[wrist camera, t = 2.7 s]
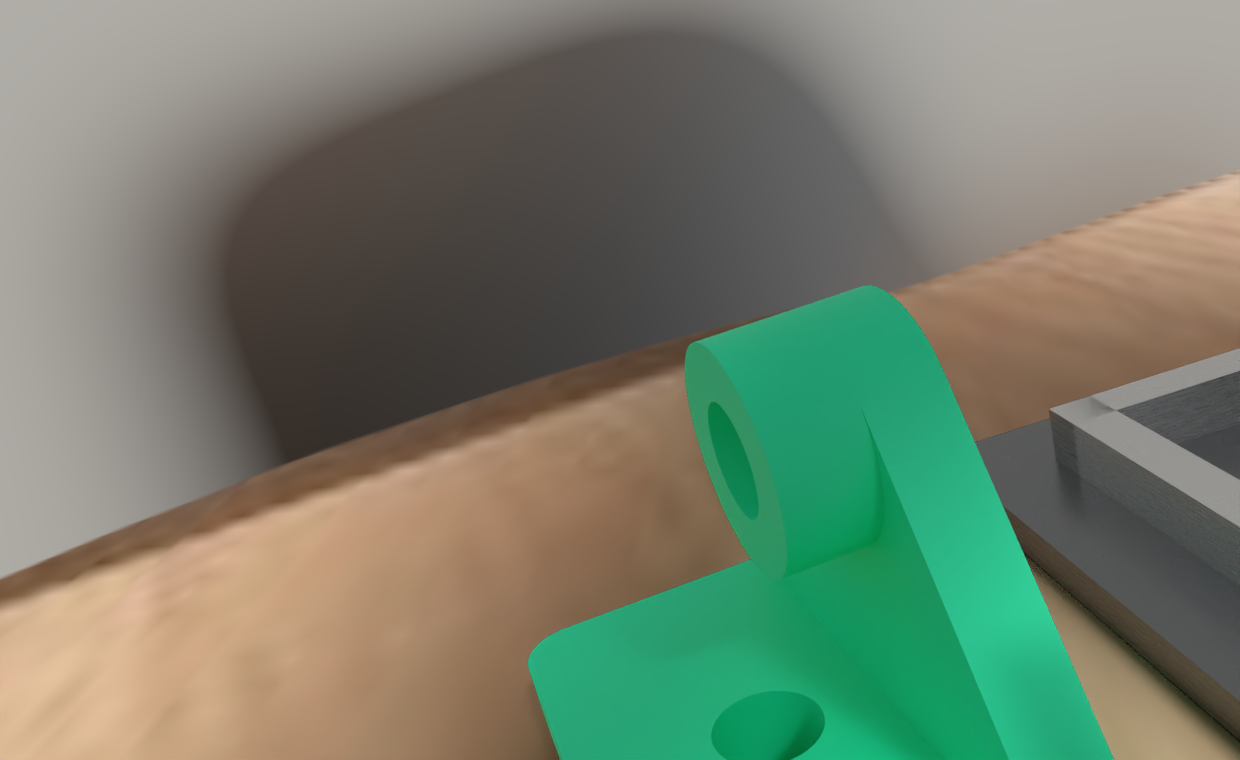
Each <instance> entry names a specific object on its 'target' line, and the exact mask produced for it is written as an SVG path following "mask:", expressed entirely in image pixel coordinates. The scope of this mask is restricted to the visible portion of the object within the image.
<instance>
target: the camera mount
mask: <svg viewBox="0 0 1240 760" xmlns="http://www.w3.org/2000/svg"><path fill="white" fill-rule="evenodd" d="M685 382H686V390H687V397H688V402H689V407H690V412H691V416H692V421H693V425H694V429H695V432H696V436H697V439H698V443H699V446H700V449H701V452H702V455H703V458H704V462H705V464H706V467H707V470H708V473H709V476H710V478H711V481H712V483H713V486H714V488H715V491H716V493H717V496H718V498H719V500H720V503H721V505H722V507H723V510H724V512H725V514H726V516H727V518H728V520H729V522H730V524H731V526H732V528H733V530H734V532H735V534H736V536H737V537H738V539H739V541H740V543H741V544H742V546H743V548H744V549H745V551H746V552H747V554H748V555H749V557H750V558H751V560H748V561H745V562H743V563H740V564H737V565H735V566H732V567H729V568H726V569H724V570H721V571H718V572H716V573H713V574H710V575H708V576H705V577H702V578H699V579H697V580H694V581H691V582H689V583H686V584H683V585H681V586H678V587H675V588H672V589H670V590H667V591H664V592H662V593H659V594H656V595H654V596H651V597H648V598H645V599H643V600H640V601H637V602H635V603H632V604H629V605H627V606H624V607H621V608H618V609H616V610H613V611H610V612H608V613H605V614H602V615H600V616H597V617H594V618H591V619H589V620H586V621H583V622H581V623H578V624H575V625H573V626H570V627H567V628H564V629H562V630H559V631H557V632H555V633H553V634H551V635H550V636H548V637H547V638H545V639H544V640H542V641H541V642H540V643H539V644H538V645H537V646H536V647H535V648H534V649H533V651H532V652H531V654H530V656H529V659H528V668H529V671H530V674H531V677H532V680H533V683H534V686H535V690H536V693H537V696H538V699H539V702H540V705H541V708H542V711H543V714H544V717H545V720H546V723H547V726H548V729H549V731H550V734H551V737H552V740H553V742H554V745H555V748H556V750H557V753H558V756H559V759H560V760H1114V758H1113V756H1112V754H1111V752H1110V749H1109V747H1108V745H1107V742H1106V740H1105V738H1104V736H1103V733H1102V731H1101V729H1100V726H1099V724H1098V722H1097V720H1096V717H1095V715H1094V713H1093V711H1092V708H1091V706H1090V704H1089V701H1088V699H1087V697H1086V695H1085V692H1084V690H1083V688H1082V685H1081V683H1080V681H1079V679H1078V676H1077V674H1076V672H1075V669H1074V667H1073V665H1072V663H1071V660H1070V658H1069V656H1068V654H1067V651H1066V649H1065V647H1064V644H1063V642H1062V640H1061V638H1060V635H1059V633H1058V631H1057V628H1056V626H1055V624H1054V622H1053V619H1052V617H1051V615H1050V612H1049V610H1048V608H1047V606H1046V603H1045V601H1044V599H1043V597H1042V594H1041V592H1040V590H1039V587H1038V585H1037V583H1036V581H1035V578H1034V576H1033V574H1032V571H1031V569H1030V567H1029V565H1028V562H1027V560H1026V558H1025V556H1024V553H1023V551H1022V549H1021V546H1020V544H1019V542H1018V540H1017V537H1016V535H1015V533H1014V530H1013V528H1012V526H1011V524H1010V521H1009V519H1008V517H1007V514H1006V512H1005V510H1004V508H1003V505H1002V503H1001V501H1000V499H999V496H998V494H997V492H996V489H995V487H994V485H993V483H992V480H991V478H990V476H989V473H988V471H987V469H986V467H985V464H984V462H983V460H982V457H981V455H980V453H979V451H978V448H977V446H976V444H975V442H974V439H973V437H972V435H971V432H970V430H969V428H968V426H967V423H966V421H965V419H964V416H963V414H962V412H961V410H960V407H959V405H958V403H957V400H956V398H955V396H954V394H953V391H952V389H951V387H950V385H949V382H948V380H947V378H946V375H945V373H944V371H943V369H942V366H941V364H940V362H939V360H938V358H937V356H936V354H935V352H934V350H933V348H932V347H931V345H930V343H929V341H928V339H927V338H926V336H925V335H924V333H923V331H922V330H921V328H920V327H919V325H918V324H917V323H916V321H915V320H914V318H913V317H912V316H911V315H910V313H909V312H908V311H907V310H906V309H905V308H904V307H903V306H902V304H901V303H900V302H899V301H897V300H896V299H895V298H894V297H893V296H892V295H890V294H889V293H887V292H886V291H884V290H882V289H880V288H878V287H875V286H870V285H866V286H861V287H858V288H855V289H852V290H849V291H846V292H843V293H840V294H838V295H835V296H831V297H828V298H825V299H822V300H819V301H816V302H813V303H810V304H807V305H804V306H801V307H798V308H795V309H792V310H789V311H786V312H783V313H780V314H777V315H774V316H771V317H768V318H765V319H762V320H759V321H756V322H753V323H750V324H747V325H744V326H741V327H738V328H735V329H732V330H729V331H726V332H723V333H720V334H717V335H714V336H711V337H708V338H705V339H702V340H699V341H696V342H693V343H691V344H690V345H689V347H688V349H687V351H686V355H685Z"/></svg>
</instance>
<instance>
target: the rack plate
mask: <svg viewBox="0 0 1240 760" xmlns="http://www.w3.org/2000/svg"><path fill="white" fill-rule="evenodd" d="M1049 414H1050V418H1049V419H1046V420H1043V421H1040V422H1037V423H1034V424H1031V425H1028V426H1024V427H1021V428H1018V429H1015V430H1012V431H1009V432H1006V433H1002V434H999V435H996V436H993V437H990V438H987V439H984V440H980V441H977V442H975V444H976V446H977V448H978V451H979V453H980V455H981V457H982V460H983V462H984V464H985V467H986V469H987V471H988V473H989V476H990V478H991V480H992V483H993V485H994V487H995V489H996V492H997V494H998V496H999V499H1000V501H1001V503H1002V505H1003V508H1004V510H1005V512H1006V514H1007V517H1008V519H1009V521H1010V524H1011V526H1012V528H1013V530H1014V533H1015V535H1016V537H1017V540H1018V542H1019V544H1020V546H1021V549H1022V551H1023V552H1024V553H1025V554H1026V555H1027V556H1028V557H1029V558H1031V559H1032V560H1033V561H1034V562H1035V563H1036V564H1037V565H1039V566H1040V567H1041V568H1042V569H1043V570H1044V571H1045V572H1047V573H1048V574H1049V575H1050V576H1051V577H1052V578H1053V579H1055V580H1056V581H1057V582H1058V583H1059V584H1060V585H1061V586H1063V587H1064V588H1065V589H1066V590H1067V591H1068V592H1069V593H1071V594H1072V595H1073V596H1074V597H1075V598H1076V599H1077V600H1079V601H1080V602H1081V603H1082V604H1083V605H1084V606H1086V607H1087V608H1088V609H1089V610H1090V611H1091V612H1092V613H1094V614H1095V615H1096V616H1097V617H1098V618H1099V619H1100V620H1102V621H1103V622H1104V623H1105V624H1106V625H1107V626H1108V627H1110V628H1111V629H1112V630H1113V631H1114V632H1115V633H1116V634H1118V635H1119V636H1120V637H1121V638H1122V639H1123V640H1124V641H1126V642H1127V643H1128V644H1129V645H1130V646H1131V647H1133V648H1134V649H1135V650H1136V651H1137V652H1138V653H1139V654H1141V655H1142V656H1143V657H1144V658H1145V659H1146V660H1147V661H1149V662H1150V663H1151V664H1152V665H1153V666H1154V667H1155V668H1157V669H1158V670H1159V671H1160V672H1161V673H1162V674H1163V675H1165V676H1166V677H1167V678H1168V679H1169V680H1170V681H1171V682H1173V683H1174V684H1175V685H1176V686H1177V687H1178V688H1180V689H1181V690H1182V691H1183V692H1184V693H1185V694H1186V695H1188V696H1189V697H1190V698H1191V699H1192V700H1193V701H1194V702H1196V703H1197V704H1198V705H1199V706H1200V707H1201V708H1202V709H1204V710H1205V711H1206V712H1207V713H1208V714H1209V715H1210V716H1212V717H1213V718H1214V719H1215V720H1216V721H1217V722H1218V723H1220V724H1221V725H1222V726H1223V727H1224V728H1225V729H1226V730H1228V731H1229V732H1230V733H1231V734H1232V735H1233V736H1235V737H1236V738H1237V739H1238V740H1239V741H1240V348H1239V349H1236V350H1233V351H1229V352H1226V353H1223V354H1220V355H1217V356H1214V357H1211V358H1207V359H1204V360H1201V361H1198V362H1195V363H1192V364H1189V365H1185V366H1182V367H1179V368H1176V369H1173V370H1170V371H1167V372H1163V373H1160V374H1157V375H1154V376H1151V377H1148V378H1145V379H1141V380H1138V381H1135V382H1132V383H1129V384H1126V385H1123V386H1119V387H1116V388H1113V389H1110V390H1107V391H1104V392H1100V393H1097V394H1094V395H1091V396H1088V397H1085V398H1082V399H1078V400H1075V401H1072V402H1069V403H1066V404H1063V405H1060V406H1056V407H1053V408H1050V409H1049Z"/></svg>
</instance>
